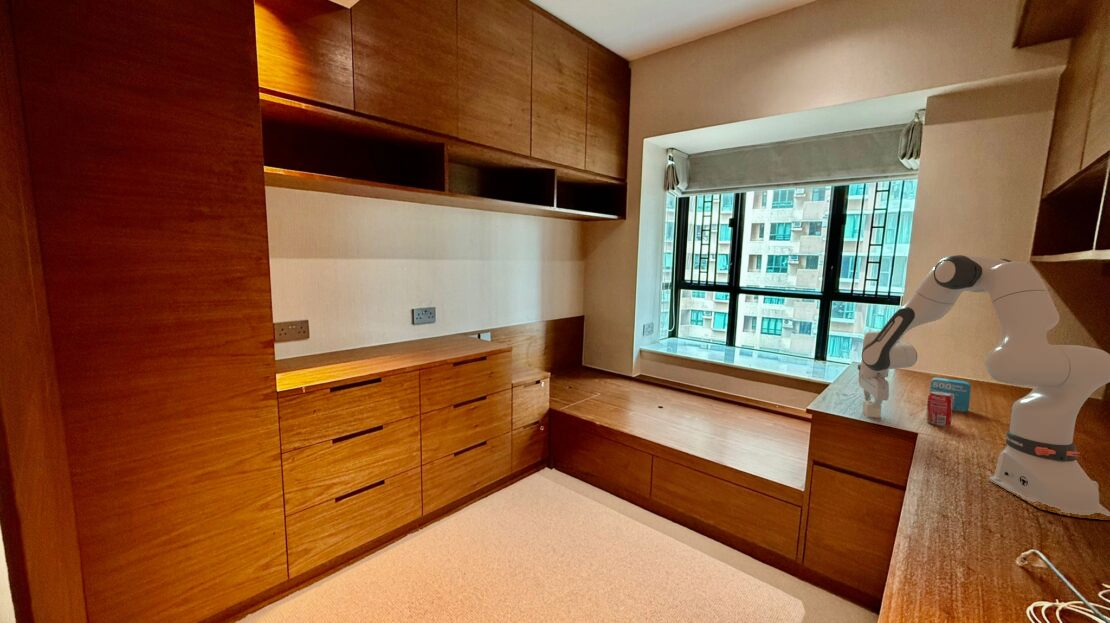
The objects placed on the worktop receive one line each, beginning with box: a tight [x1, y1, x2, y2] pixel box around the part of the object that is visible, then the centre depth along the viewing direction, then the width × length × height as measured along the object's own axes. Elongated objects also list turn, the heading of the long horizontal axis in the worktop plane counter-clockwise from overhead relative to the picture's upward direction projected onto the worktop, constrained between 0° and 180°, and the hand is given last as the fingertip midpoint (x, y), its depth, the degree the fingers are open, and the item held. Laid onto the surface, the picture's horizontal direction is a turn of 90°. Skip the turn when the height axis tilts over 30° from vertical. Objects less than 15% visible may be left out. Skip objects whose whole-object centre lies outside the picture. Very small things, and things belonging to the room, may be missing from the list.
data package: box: [929, 377, 972, 413], centre depth 175 cm, size 12×4×12 cm, turn 43°
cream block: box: [862, 400, 882, 418], centre depth 169 cm, size 5×5×5 cm
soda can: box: [925, 391, 953, 427], centre depth 159 cm, size 7×7×12 cm
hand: (871, 404), depth 169 cm, fingers open, 8 cm apart
